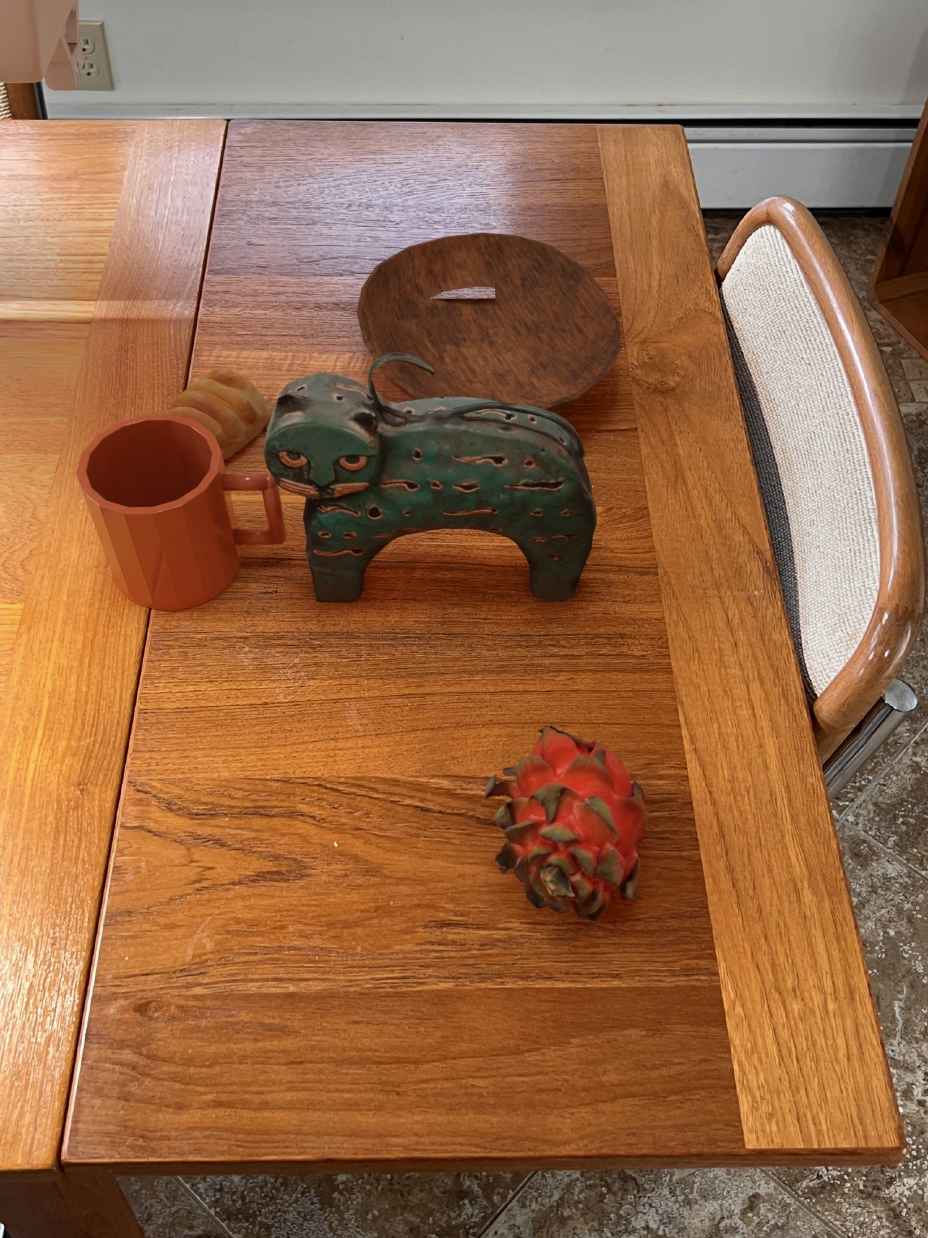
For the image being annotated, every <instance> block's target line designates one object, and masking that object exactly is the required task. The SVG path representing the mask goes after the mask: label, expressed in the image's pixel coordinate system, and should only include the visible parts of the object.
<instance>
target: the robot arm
mask: <svg viewBox="0 0 928 1238" xmlns="http://www.w3.org/2000/svg"><path fill="white" fill-rule="evenodd" d="M79 13H80V11H79V0H0V83H4V84H5V83H6V84H33V83H39V82H41V81H43V80H44V81H45V84H46V86H47V87H48V89H51V90H52V91H66V92H70V91H74V90H75V89H76V88H77V87H76V86H77V83H78V81H79V77H80V75H81V72H82V70H83V67H84V64H85V58H84V54H83V49H82V45H81V41H80V14H79Z"/></svg>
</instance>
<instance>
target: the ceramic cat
mask: <svg viewBox="0 0 928 1238" xmlns="http://www.w3.org/2000/svg"><path fill="white" fill-rule="evenodd" d="M388 361H402V362H406V363H409V364H413V365H415V366H417V367H419V368H421V369H424V370H426V371H428V372H430V373H431V374H432V375H433V374H435V373H436V372H435V370H434V369H433V367H432V366H431V365H430V364H428V363H427V362H426V361H425V360H423V359H421V358H419V357H417V356H414V355H411V354H407V353H402V352H392V353H388V354H385V355H382V356H380V357H377V359H376V360H374V361H373V362H372V363H371V366H370V369H369V372H368V386H367V385H365V384H364V383H361V382H359V381H357V380H355V379H352V378H350V377H348V376H345V375H341V374H337V373H328V372H321V373H315V374H310V375H305V376H303V377H299V378H297V379H295V380H293V381H290V382H288V383H287V384H286V385H285V386H284V387H283V389H282V390H280V393H279V396H278V398H277V400H276V403H275V406H274V408H273V411H272V412H271V417H270V419H269V421H268V422H269V423H268V425H267V429H266V433H265V437H264V446H263V458H264V463H265V465H266V469H267V470H268V472H269V474H271V475H272V476H273V478H274V480H275V482H276V484H277V485H278V487H279V488H281V489H282V490H284V491H286V492H288V493H290V494H293V495H297V496H301V497H304V498H305V502H304V508H303V515H302V523H303V526H304V534H305V536H306V537H305V558H306V562H307V564H308V567H309V570H310V574H311V578H312V584H313V591H314V596H315V603H316V602H317V603H354V602H356V601H358V600H359V599H360V598H361V596H362V595H363V591H364V587H365V584H366V583H365V581H366V580H365V574H366V572H367V571H366V570H367V568H368V566H369V565H370V563H371V562H372V561H373V560H374V559H375V557H376V556H378V554H379V553H380V552H382V550H383V549H384V548H386V547H387V546H388V545H389V544H391V543H392V542H393V541H394V540H397V539H399V538H401V537H404V536H410V535H414V534H420V533H425V532H431V531H437V530H471V531H480V532H485V533H491V534H494V535H498V536H501V537H504V538H507V539H509V540H510V541H512V542H513V543H514V544H516V545H517V547H518V548H519V550H520V552H521V553H522V555H523V556H524V557H525V560H526V562H527V566H528V572H529V578H528V580H529V581H528V582H529V588H530V592H531V593H532V595H533V596H534V598H535V599H536V600H543V601H545V602H558V601H559V602H560V601H566V600H571V599H573V598H574V597H575V596H576V594H577V590H578V586H579V583H580V581H581V577H582V574H583V571H584V570H585V566H586V564H587V561H588V559H589V557H590V555H591V551H592V548H593V542H594V535H595V531H596V528H597V524H598V511H597V505H596V501H595V499H594V496H593V490H592V483H591V478H590V474H589V470H588V469H587V466H586V464H585V460H584V458H585V457H586V452H585V451H586V450H585V448H584V445H583V443H582V439H581V436H580V435H579V433H578V432H577V430H576V428H575V427H574V426H573V425H572V424H571V423H570V422H569V421H568V420H567V419H566V418H564V417H562V416H561V415H559V414H558V413H556V412H550V411H547V410H544V409H541V408H537V407H532V406H527V405H522V404H513V403H503V402H497V401H492V400H486V399H479V398H468V397H438V398H429V399H419V400H413V399H412V400H407V401H401V402H393V401H388V399H386V398H383V396H381V395H380V394H379V393H377V391H376V388H375V384H374V379H373V378H374V372H375V370H376V369H377V368H378V367H379V365H381V364H383V363H386V362H388ZM572 437H573V438H572Z"/></svg>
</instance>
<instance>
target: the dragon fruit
mask: <svg viewBox="0 0 928 1238" xmlns="http://www.w3.org/2000/svg"><path fill="white" fill-rule="evenodd" d="M524 732H525V734H526V733H528V732H531V729H529V730H528V731H523V733H524ZM537 732H538V733H541V735H540V737H538V739H537V741H536V742H535V744H534V747H533V750H532V756H528V757H524V758H521V759H519V760H518V762H517V765H515V766H512V767H511V766H510V767H503V768H502V774H503V775H504V776H506V777H513V776H514V775H515V781H512V780H502V781H500V782H497V774H492V775H491V777H490V778H489V780H488V782H487V784H486V786H485V791H484V795H483V800H486V799H488V798H493V797H502V796H503V797H507V798H510V800H508V801H506V802H504V803H503V804H502V806H500V808H499V809H498V811H497V812H496V813H495V815H494V818H493V820H494V823H495V824H496V826H497V827H498V828H499V829H502V830H503V831H504V832H503V833H504V834H503V835H504V837H505V838H506V841H505V842H504V843H503V845H502V846H501V847H500V850H499V851H497V852H496V855H495V858H494V862H495V863H496V865H497V868H498V870H499V871H500V872H501V873H502V875H505V874H506V873H507V872H508V871H509V870H513V873H514V875H515V877H516V878H517V880H519V882H520V883H522V885H523V889H524V892H525V898H526V900H527V902H528V903H530V904H531V905H532V906H533V907H534V908H536V909H538V910H540V909H545V908H547V907H549V908H550V910H551V911H552V912H554V913H559V914H565V913H566V914H567V913H568V914H569V913H570V914H571V913H572V912H574V911H575V913H576V916H577V919H580V920H582V921H586V922H587V921H591V922H597V921H598V919H599V918H600V917H601V915H602V914H603V912H604V911H605V910H606V909H607V907H608V906H609V905H610V902H611V898H612V897H611V895H612V892H613V891H615V890H616V891H619V897H620V899H621V900H624V901H626V900H628V901H633V900H635V898H636V896H637V892H638V891H639V883H640V878H641V869H642V868H641V867H642V866H641V865H642V862H641V858H640V856H639V851H638V850H639V849H638V848H639V846H640V843H642V841H643V840H644V839H645V836H646V835H645V834H646V832H647V828H648V821H649V816H648V810H647V807H646V799H647V798H646V794H645V790H644V788H643V787H642V786H641V785H640V784H639V783H638V782H637V780H635V779H634V780H633V783H631V780H630V771H629V769H628V767H627V766H626V765H625V764H624V763H623V762H622V760H621V759H620V758H619V755H617V754H616V753H615V752H614V751H613V750H612V749H611V747H609V746H608V745H605V744H603V743H600V742H598V741H596V740H592V741H591V742H589V741H587V740H584V739H583V738H579V737H577V736H575V735H573V734H570V733H569V732H565V731H562V730H559V729H558V728H556V727H555V726H552V725H544V727H542V728H541V729H538V730H537ZM522 736H523V735H522Z"/></svg>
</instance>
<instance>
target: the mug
mask: <svg viewBox="0 0 928 1238" xmlns="http://www.w3.org/2000/svg"><path fill="white" fill-rule="evenodd" d="M76 477H77V479H78V483H79V486H80V489H81V493H82V495H83V498H84V500H85V503H86V506H87V508H88V511H89V514H90V517H91V519H92V522H93V525H94V527H95V531H96V533H97V536H98V539H99V541H100V544H101V548H102V550H103V553H104V555H105V558H106V561H107V564H108V566H109V568H110V572H111V574H112V577H113V580H114V582H115V584H116V587H118V589H119V590H120V592H121V593H122V594H123V595H124V596H126V597H127V599H129V600H130V601H132V602H133V603H136V604H138V605H139V606H142V607H145V608H148V609H152V610H158V611H159V610H160V611H180V610H184V609H189V608H194V607H196V606H199V605H202V604H205V603H207V602H208V601H210V600H212V599H214V598H216V597H217V596H218V595H220V594H221V593H222V592H223V591H225V590H226V589H227V588H228V586H230V585H231V583H232V582H233V581H234V579H236V576H237V574H238V573H239V570H240V568H241V566H242V565H241V564H242V558H243V550H242V546H270V545H271V546H277V545H278V546H279V545H280V546H281V545H283V544H284V543H285V542H286V541H287V537H288V535H287V529H286V523H285V522H286V521H285V517H284V511H283V505H282V500H281V493H280V487H279V486H278V485H277V484H276V482H275V480H274V478H273V476H272V475H271V473H270V472H269V473H268V472H267V473H227V470H226V466H225V461H224V460H223V456H222V451H221V449H220V447H219V444H218V442H217V440H216V438H215V435H214V434H213V433H212V432H211V431H209V430H208V429H207V428H205V427H204V426H203V425H201V424H200V423H199V422H198V421H196V420H192V419H189V418H185V417H182V416H178V415H175V414H165V413H144V414H141V415H138V416H133V417H129V418H126V419H121V420H119V421H117V422H115V423H114V424H112V425H110V426H109V427H107V428H105V429H103V430H102V431H100V432H99V433H97V434H96V435H95V436H94V437H93V438H92V440H91V441H89V443H88V444H87V446H86V447H85V448H83V450H82V451H81V453H80V457H79V461H78V464H77V469H76ZM232 492H261V495H262V499H263V505H264V511H265V517H266V522H267V528H265V527H264V528H263V527H262V528H257V527H256V528H239V526H238V521H237V517H236V512H235V507H234V501H233V498H232Z"/></svg>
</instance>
